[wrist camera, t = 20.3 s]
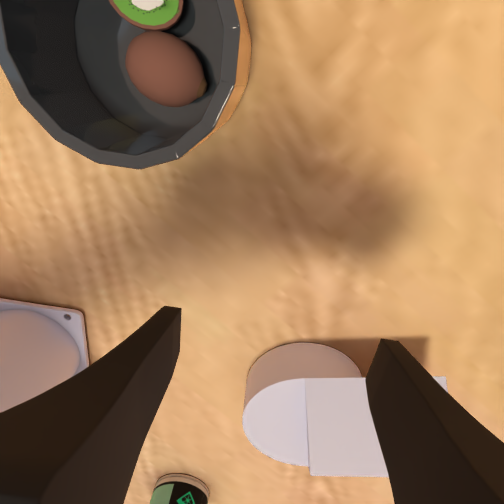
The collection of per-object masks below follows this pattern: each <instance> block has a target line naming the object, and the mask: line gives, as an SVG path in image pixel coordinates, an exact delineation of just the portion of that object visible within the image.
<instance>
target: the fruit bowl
mask: <svg viewBox="0 0 504 504" xmlns="http://www.w3.org/2000/svg"><path fill="white" fill-rule="evenodd" d="M144 32H147V31H146V30H143V29H141V28H138V27H136V26H134V25H132V24H130V23H129V22H128V21H126V20H125V19H124V18H122V17H121V16H120V15H119V14H118V13H117V11H116V10H115V9H114V8H113V6H112V5H111V4H110V2H109V0H0V65H1V67H2V69H3V71H4V73H5V75H6V77H7V79H8V81H9V83H10V85H11V87H12V89H13V91H14V92H15V94H16V96H17V98H18V100H19V101H20V103H21V104H22V105H23V107H24V108H25V109H26V110H27V111H28V112H29V113H30V114H31V115H32V116H33V117H34V118H35V119H36V120H37V121H38V122H39V123H40V124H41V126H42V127H43V128H44V129H45V130H46V131H47V132H48V133H49V134H50V135H51V136H52V137H53V138H54V139H55V140H56V141H58V142H60V143H61V144H63V145H65V146H67V147H69V148H70V149H72V150H74V151H76V152H78V153H80V154H81V155H83V156H85V157H87V158H89V159H90V160H92V161H94V162H96V163H99V164H105V165H112V166H119V167H126V168H132V169H144V168H148V167H152V166H155V165H159V164H163V163H166V162H170V161H174V160H177V159H179V158H181V157H183V156H184V155H186V154H187V153H188V152H190V151H191V150H192V149H194V148H195V147H196V146H198V145H199V144H200V143H202V142H203V141H204V140H206V139H207V138H208V137H209V136H210V135H212V134H213V133H214V132H215V131H216V130H218V129H219V128H220V127H221V126H222V125H223V124H225V123H226V122H227V121H228V120H229V119H230V118H231V116H232V114H233V112H234V110H235V109H236V107H237V105H238V104H239V102H240V100H241V97H242V95H243V93H244V90H245V88H246V85H247V80H248V75H249V69H250V60H251V38H250V33H249V28H248V22H247V19H246V15H245V12H244V8H243V3H242V0H183V10H182V14H181V17H180V19H179V21H178V22H177V23H176V24H175V25H173V26H172V27H171V28H170V29H167V30H163V31H161V32H165V33H169V34H172V35H174V36H176V37H178V38H179V39H181V40H183V41H184V42H186V43H187V44H188V45H189V46H190V47H191V48H192V49H193V50H194V52H195V53H196V54H197V56H198V58H199V60H200V62H201V64H202V67H203V72H204V78H205V80H206V82H207V89H206V92H205V94H204V96H203V97H200V98H197V99H196V100H194V101H193V102H191V103H190V104H189V105H185V106H181V107H168V106H163V105H161V104H158V103H156V102H153V101H151V100H150V99H148V98H147V97H146V96H144V95H143V94H142V93H140V92H139V91H138V89H137V88H136V87H135V85H134V84H133V83H132V82H131V79H130V77H129V74H128V72H127V69H126V67H125V59H126V53H127V50H128V46H129V44H130V42H131V41H132V39H133V38H135V37H136V36H138V35H140V34H142V33H144Z"/></svg>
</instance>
